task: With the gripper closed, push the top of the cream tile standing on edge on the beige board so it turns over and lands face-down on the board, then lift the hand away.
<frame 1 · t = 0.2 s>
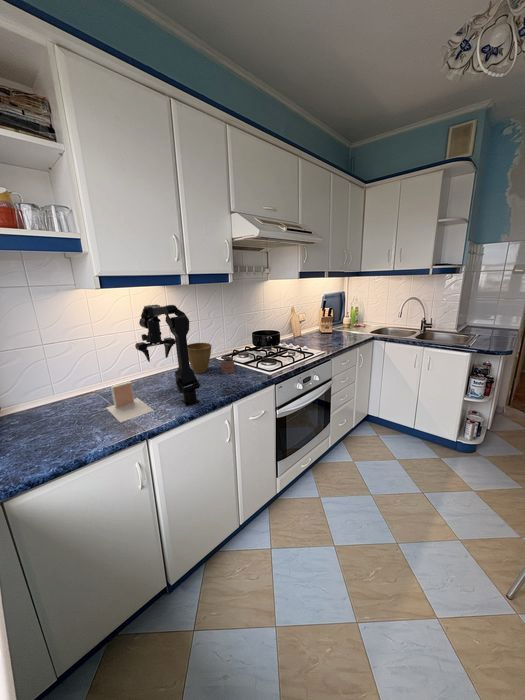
hand: (157, 359, 149), 15 cm above the countertop, tool pointing down, fingers open, 9 cm apart
beige board: (129, 410, 128), on the countertop
plant pot: (200, 371, 174), on the countertop
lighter: (228, 373, 171), on the countertop
tile: (124, 404, 132), point 1 cm above the countertop, touching beige board
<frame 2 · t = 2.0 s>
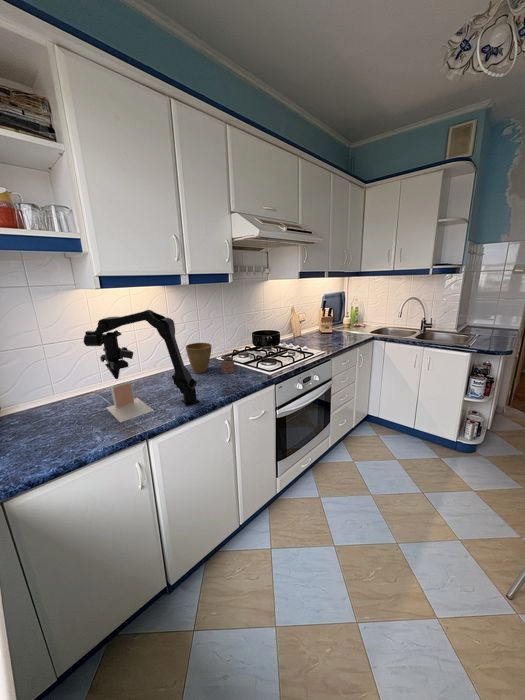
hand: (116, 378, 132), 12 cm above the countertop, tool pointing down, fingers closed
nothing on the countertop moved.
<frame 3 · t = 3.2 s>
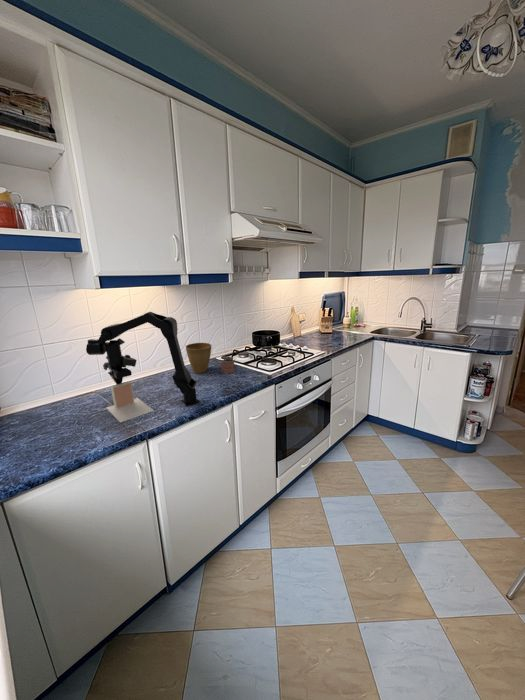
hand: (119, 386, 132), 8 cm above the countertop, tool pointing down, fingers closed
nothing on the countertop moved.
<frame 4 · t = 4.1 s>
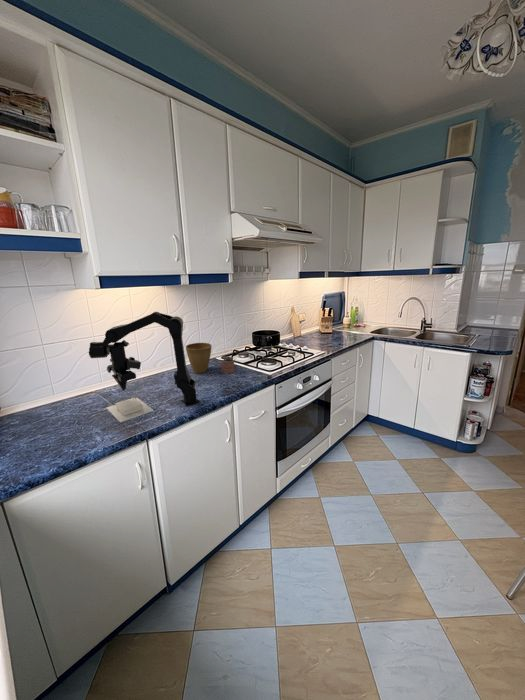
hand: (124, 390, 128), 8 cm above the countertop, tool pointing down, fingers closed
tile: (125, 402, 130), point 2 cm above the countertop, tilted 90°, touching beige board
everything else where it was.
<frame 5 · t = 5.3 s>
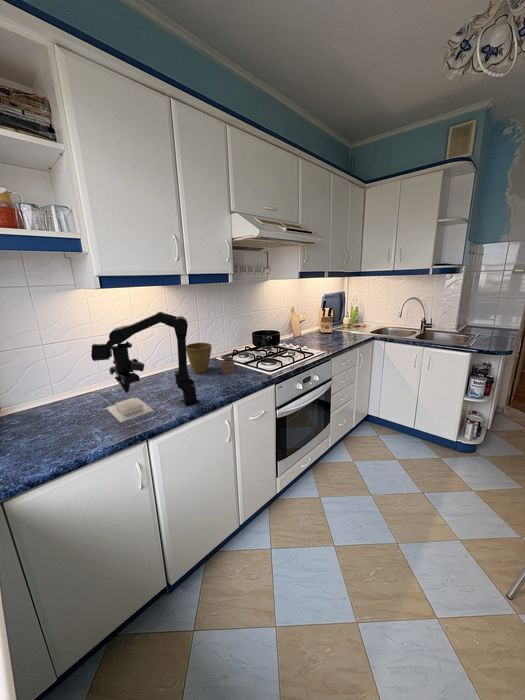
hand: (126, 392, 125), 8 cm above the countertop, tool pointing down, fingers closed
nothing on the countertop moved.
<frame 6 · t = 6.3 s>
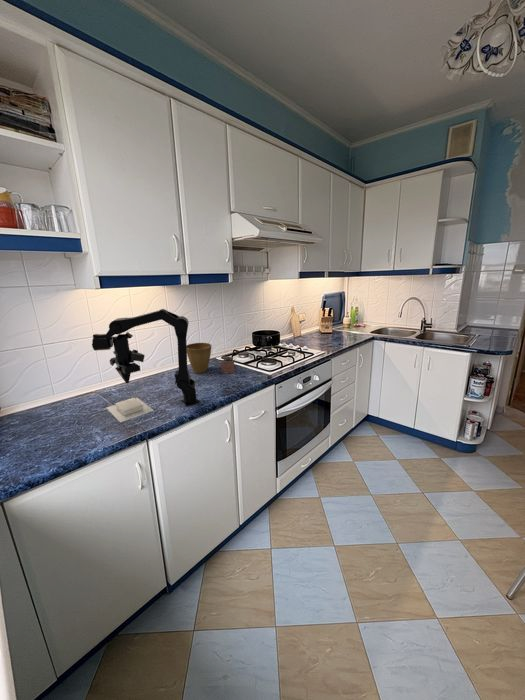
hand: (127, 383, 126), 12 cm above the countertop, tool pointing down, fingers closed
nothing on the countertop moved.
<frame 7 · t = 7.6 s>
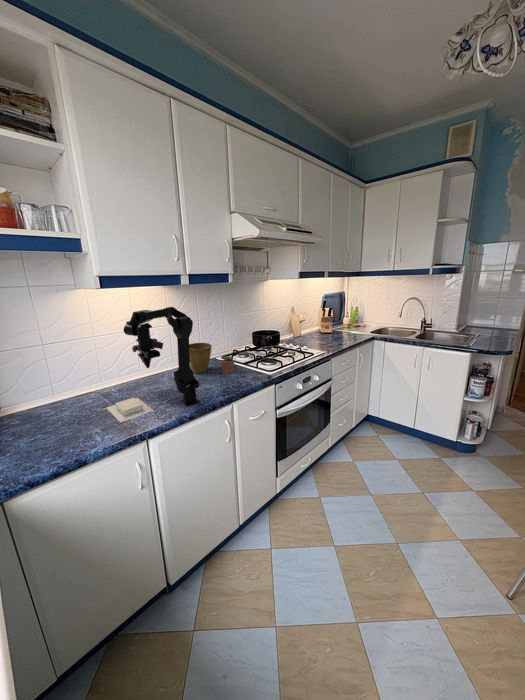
hand: (148, 367, 142), 13 cm above the countertop, tool pointing down, fingers closed
nothing on the countertop moved.
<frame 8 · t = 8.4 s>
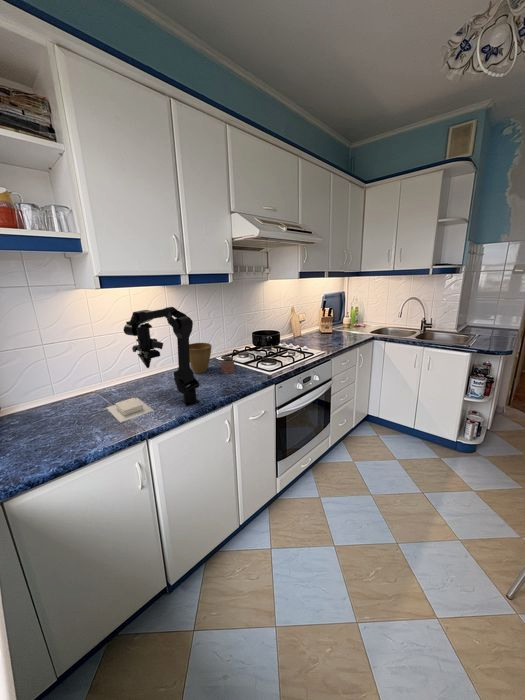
hand: (148, 367, 142), 13 cm above the countertop, tool pointing down, fingers closed
nothing on the countertop moved.
at the end: tile tilted 90°; tile touching beige board; tile inside the target area (4.4 cm from its centre), point 1.8 cm above the countertop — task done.
